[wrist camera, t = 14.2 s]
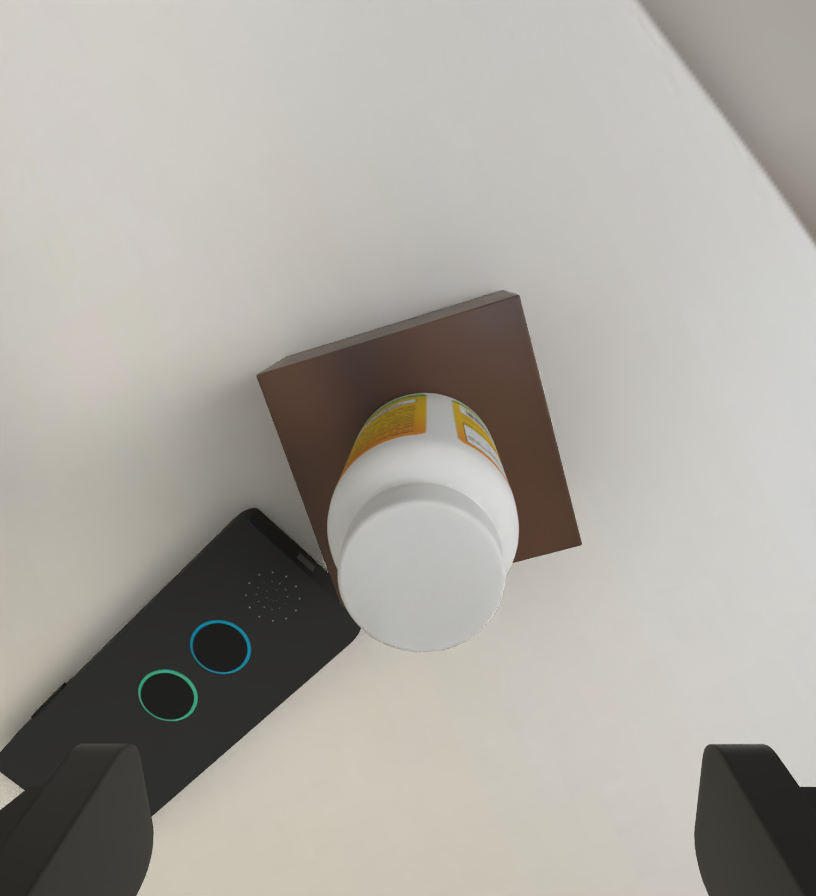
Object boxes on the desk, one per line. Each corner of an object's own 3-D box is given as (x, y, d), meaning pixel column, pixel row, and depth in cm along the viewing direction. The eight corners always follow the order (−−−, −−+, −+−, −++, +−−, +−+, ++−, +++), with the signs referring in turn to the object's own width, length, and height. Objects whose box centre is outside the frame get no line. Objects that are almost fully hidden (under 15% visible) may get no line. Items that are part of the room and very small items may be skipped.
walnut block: (503, 289, 27) (519, 294, 22) (558, 500, 30) (582, 545, 25) (285, 356, 28) (255, 375, 24) (355, 554, 31) (341, 607, 26)
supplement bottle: (342, 509, 25) (289, 655, 16) (368, 376, 23) (327, 448, 14) (476, 538, 25) (504, 699, 16) (511, 407, 24) (564, 499, 14)
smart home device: (369, 631, 30) (109, 857, 34) (373, 613, 32) (124, 830, 36) (238, 513, 29) (-16, 763, 33) (248, 499, 30) (6, 740, 35)
